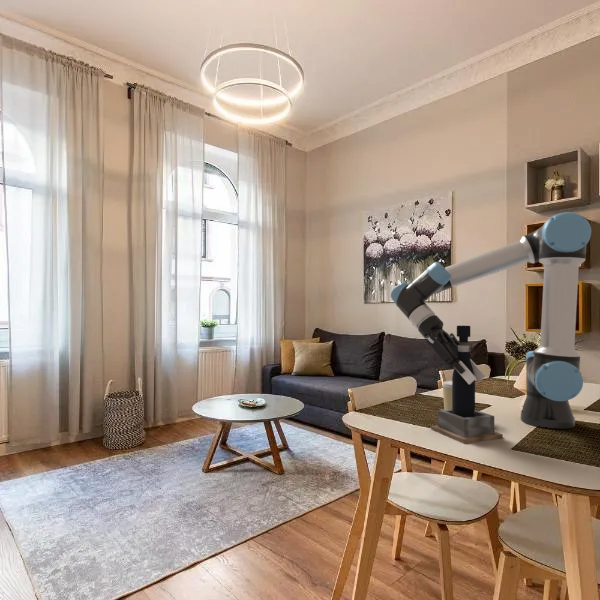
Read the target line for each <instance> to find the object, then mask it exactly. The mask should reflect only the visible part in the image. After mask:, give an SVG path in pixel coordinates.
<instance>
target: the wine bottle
mask: <svg viewBox="0 0 600 600" xmlns="http://www.w3.org/2000/svg"><path fill="white" fill-rule="evenodd" d="M456 337H458V341H459V344H462V345H458V351H457V356H456V357H457V359H458V360H459V361H462V362H463V364H464V365H465V366H466V367H467V368H468V369H469V370H470V372H471V373H472V374H473V375H474V370H473V367H472V364H471V362H470V354H471V351H470V345H468V344H469V338H470V337H471V325H456ZM459 361H458V362H459ZM474 376H475V375H474ZM451 381H452V414H455V415H458V416H461V417H464V418H467V417H475V410H476V379H475V380H474V381H473V382H472V383H471V384H468V383H467V382H466V381H465V379H464V378H463V377H462V376H461V375H460V374H459V372H458V371H457V370H456V369H455V368H454V367H453V371H452V378H451Z"/></svg>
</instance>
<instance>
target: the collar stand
mask: <svg viewBox="0 0 600 600" xmlns="http://www.w3.org/2000/svg"><path fill="white" fill-rule="evenodd" d="M437 415H438V416H437V418H438V421H437V423H438V424H437V425H431V426H430V429H431V431H434V432H436V433H438V434H441V435H443V436H446V437H448V438H451V439H452V440H456V441H457V442H459V443H462V444H468V443H476V442H482V441H484V442H485V441H490V440H496V439H503V438H504V436H503V433H500V432H497V431H495V426H496V425H495V415H492V414H489V413H487V412H483V411H480V410H477V409H475V417H467V418H464V417H461V416H458V415H455V414H452V409H447V410H444V409H439V410H437Z"/></svg>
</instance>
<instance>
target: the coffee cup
mask: <svg viewBox="0 0 600 600" xmlns="http://www.w3.org/2000/svg"><path fill="white" fill-rule="evenodd" d="M441 386H442V395H443V396H442V397H443V407H444V408H443V410H447V409H452V380H444V381H443V382H442V384H441Z"/></svg>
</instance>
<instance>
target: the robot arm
mask: <svg viewBox="0 0 600 600" xmlns="http://www.w3.org/2000/svg"><path fill="white" fill-rule="evenodd" d="M591 236H592V227H591V224H590V223H589V221H588V220H587V218H585V217H584V216H583V215H582V214H579V213H577V212H570V211H565V212H560V213H557V214H555V215H552V216H550V217H549V218H548V219H547V220H546V221H545V222H544V224H543V225H542V226H541V227H539V228H538V229H536V230H534V231H532V232H530V233H528V234H525V235H523V236H521V238H520V240H518V241H515V242H512V243H509V244H507V245H504V246H500V247H498V248H496V249H493V250H490V251H487V252H484V253H482V254H481V253H480V254H479V255H477V256H474V257H470V258H468V259H465V260H462V261H460V262H457V263H453V264H451V265H449V266H446V267H444V266H443V265H442V263H440V262H438V261H435V262H433V263H432V264H431V265H430V266H427V268H426V269H425V270H424V271H423V272H422V273H421V274H420V275H418V276H417V277H416V278H415V279H414V280H413V281H411V282H410V283H407V282H406V281H405V282H404V281H403V282H400V283H399V284H397V285H395V287H394V288H393V289H392V290H391V292H390V297H391V300H392V301H393V302H394V303H395V305H396V307H397V308H398V309H399V311H401V313H402V314H404V316H405V317H406V318H407V319H408V320H409V321H410V322H411V325H412V326H414V327H415V328H416V329H417V330H418V332H419V333H420V335H422V336H423V338H425V339H426V340H425V341H426V343H428V345H430V346H431V348H432V349H433V350H434V352H436V353H437V355H438V356H439V357H440V358H441V360H442V361H443V362H444V364H445V365H446V366H448V368H450V369H451V368H453V369H454V368H455V369H456V370H457V371H458V372H459V374H460V375H461V376H462V377H463V378H464V379H465V381H466V382H467V383H468V384H471V383H472V382H473V381H474V380H475V381H477V382H479V383H480V382H482V380H483V379H484V378H486V376H487V375H486V374H485V373H484V371H482V370H481V368H480V367H479V366H478V364H476V362H474V361H473V360H472V359H473V357H474V356H473V355H472V354H471V353H470V362H471V364H472V367H473V370H474V375H475V376H474V375H473V374H472V373H471V372H470V370H469V369H468V368H467V367H466V366H465V365H464V364H463V362H462V361H459V360H458V359H457V351H458V345H463V344H459V339H458V338H456V337H457V336H455V334H454V333H453V332H451V333H449V332H447V331H445V330H444V329H443V328H444V322H443V321H442V320H441V319H440V318H439V316H438V315H436V313H435V312H434V311H433V309H432V308H431V307H430V306H429V305H428V304H427V303H426V301H427V300H428V299H429V298H431V297H432V296H433V295H437V294H440V293H442V292H443V291H447V290H450V289H452V288H454V287H457V286H458V287H459V286H460V285H463V284H466V283H470V282H473V281H476V280H479V279H482V278H485V277H488V276H489V275H490V276H491V275H493V274H496V273H497V274H498V273H499V272H503V271H505V270H509V269H511V268H514V267H517V266H520V265H523V264H526V263H531V264H536V263H538V262H540V264H541V265H543V284H542V285H543V287H542V301H541V302H542V303H541V305H542V306H541V320H540V321H541V323H540V341H539V343H540V344H539V346H538V347H537V348H535V349H534V350H529V351H528V352H526V354H525V355H526V357H525V360H524V361H525V365H526V366H525V368H526V370H525V371H526V373H525V374H526V377H525V378H526V381H525V382H526V385H525V386H526V390H525V391H526V397H525V400H524V403H523V405H522V410H520V420H521V421H522V422H523V423H525V424H527V425H532V426H535V427H539V426H540V427H541V428H545V427H547V428H546V429H555V428H556V430H557V429H558V430H559V429H561V430H562V429H564V430H565V429H566V430H567V429H572V428H574V427H576V419H575V416H574V414H573V411H572V408H571V405H570V402H569V400H572V399H574V398H576V397H577V396H578V395H579V394H580V393H581V391H582V390H583V387H584V386H583V385H584V379H583V375H582V372H581V371H580V368H581V366H580V364H581V354H579V352H578V351H577V349H575V341H576V340H575V339H576V324H577V304H578V302H577V301H578V286H579V285H578V283H579V267H580V265H582V264H583V263H584V262H585V261H586V257H587V255H586V253H587V245H588V243H589V241H590V239H591ZM458 361H459V362H458Z"/></svg>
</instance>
